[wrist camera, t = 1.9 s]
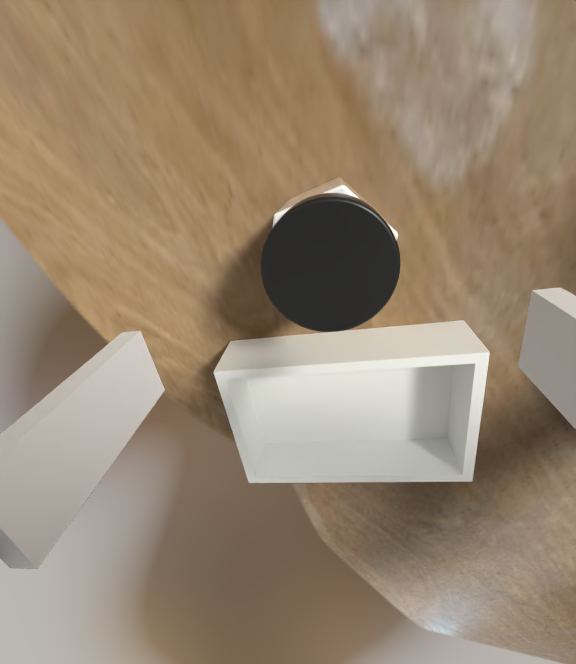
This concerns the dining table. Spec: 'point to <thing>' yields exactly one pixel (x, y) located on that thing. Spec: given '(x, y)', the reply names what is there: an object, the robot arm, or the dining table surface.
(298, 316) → the jar
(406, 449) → the bin
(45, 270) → the dining table surface
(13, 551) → the robot arm
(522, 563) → the dining table surface
